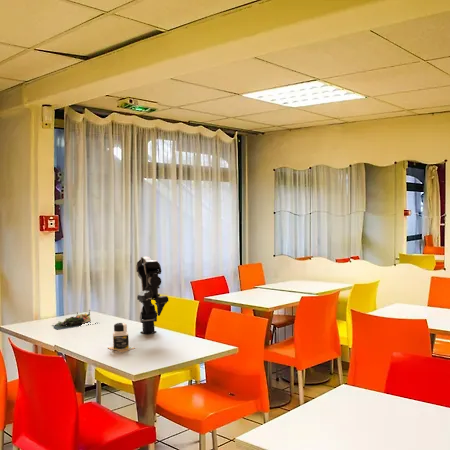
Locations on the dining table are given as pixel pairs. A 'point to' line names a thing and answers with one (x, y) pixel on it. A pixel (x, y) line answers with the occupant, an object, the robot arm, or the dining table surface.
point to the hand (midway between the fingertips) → (153, 314)
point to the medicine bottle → (120, 337)
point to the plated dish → (73, 321)
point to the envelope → (122, 349)
